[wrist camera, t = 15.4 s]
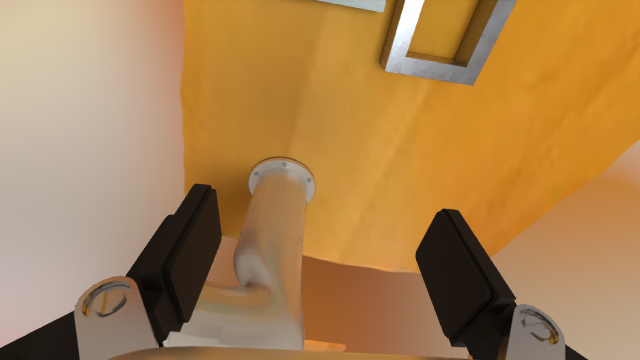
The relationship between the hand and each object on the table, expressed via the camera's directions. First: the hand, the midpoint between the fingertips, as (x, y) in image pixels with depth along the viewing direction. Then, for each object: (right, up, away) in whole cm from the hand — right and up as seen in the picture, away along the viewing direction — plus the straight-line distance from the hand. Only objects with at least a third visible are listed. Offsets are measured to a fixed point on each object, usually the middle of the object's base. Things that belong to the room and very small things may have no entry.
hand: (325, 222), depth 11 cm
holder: (+15, +22, +22) cm, 34 cm away
